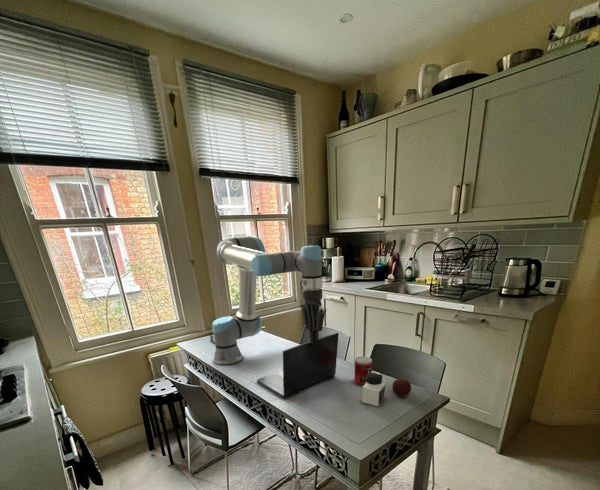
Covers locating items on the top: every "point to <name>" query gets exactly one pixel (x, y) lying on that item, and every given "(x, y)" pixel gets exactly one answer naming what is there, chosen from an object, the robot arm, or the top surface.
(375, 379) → the medicine bottle
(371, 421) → the top surface
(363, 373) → the canned food
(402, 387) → the red apple
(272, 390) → the laptop
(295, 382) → the laptop screen
